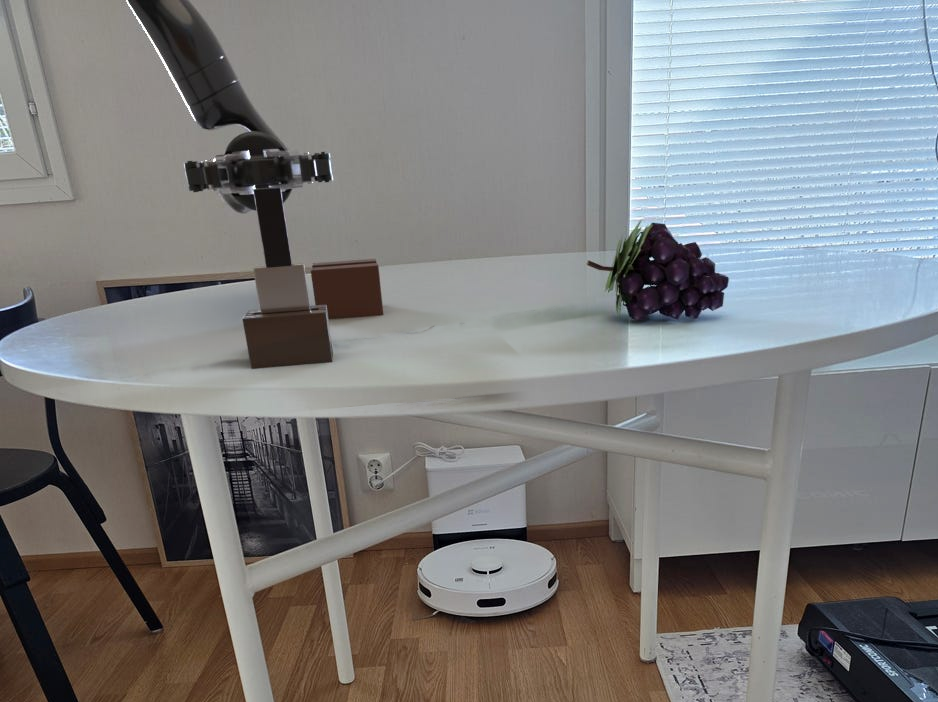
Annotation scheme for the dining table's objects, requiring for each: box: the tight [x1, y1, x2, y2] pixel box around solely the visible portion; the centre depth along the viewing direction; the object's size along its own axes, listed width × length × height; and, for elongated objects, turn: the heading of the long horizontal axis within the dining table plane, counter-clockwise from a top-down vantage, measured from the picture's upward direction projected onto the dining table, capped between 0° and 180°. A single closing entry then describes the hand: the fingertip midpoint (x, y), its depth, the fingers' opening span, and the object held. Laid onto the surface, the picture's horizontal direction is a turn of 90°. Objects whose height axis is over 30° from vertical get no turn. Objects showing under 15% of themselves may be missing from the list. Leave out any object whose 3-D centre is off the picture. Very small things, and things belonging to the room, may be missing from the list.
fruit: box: [586, 218, 730, 322], centre depth 90 cm, size 10×11×15 cm
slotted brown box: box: [310, 258, 385, 321], centre depth 96 cm, size 8×8×7 cm
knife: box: [252, 187, 311, 315], centre depth 75 cm, size 3×4×14 cm
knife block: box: [242, 304, 334, 370], centre depth 78 cm, size 5×7×5 cm
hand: (261, 171), depth 81 cm, fingers open, 8 cm apart
